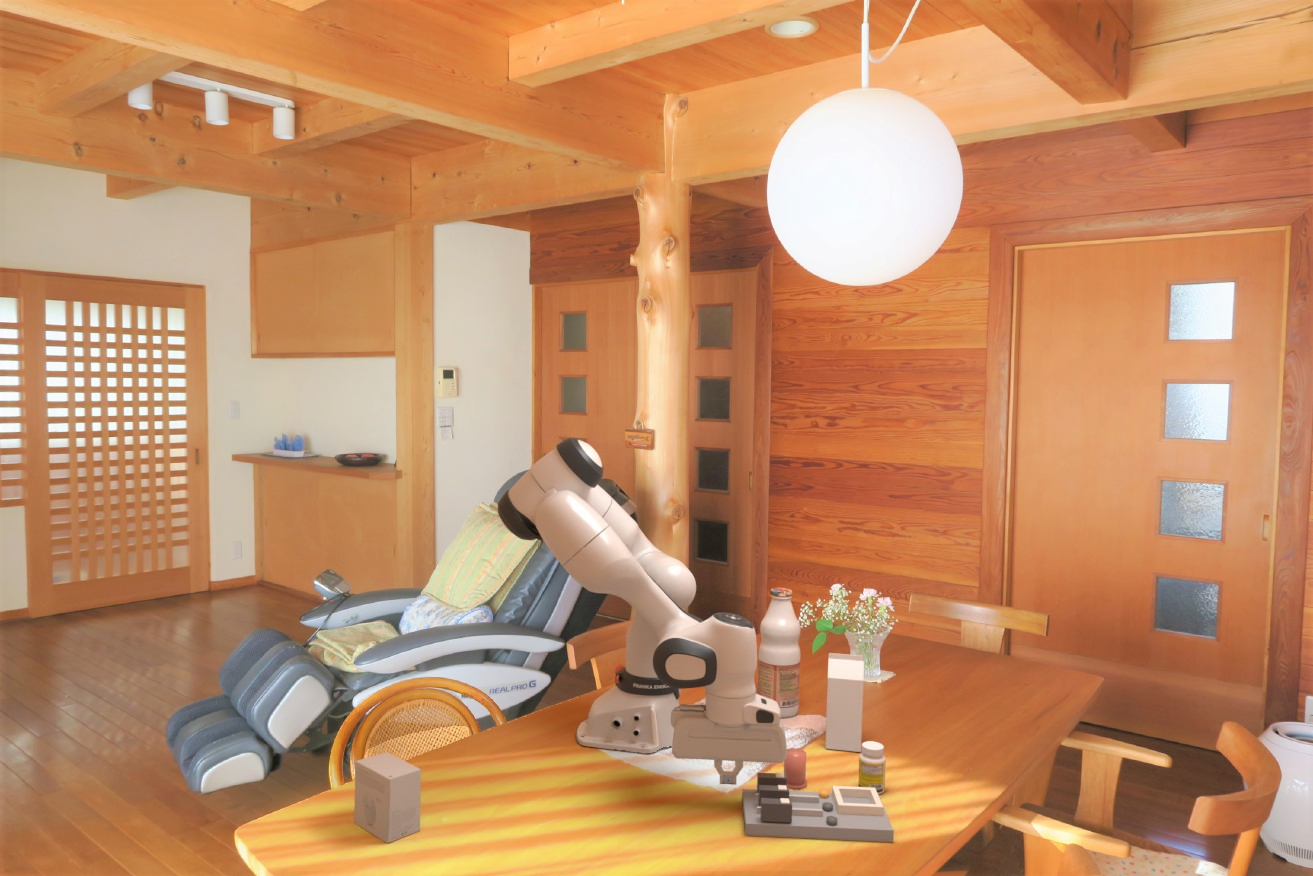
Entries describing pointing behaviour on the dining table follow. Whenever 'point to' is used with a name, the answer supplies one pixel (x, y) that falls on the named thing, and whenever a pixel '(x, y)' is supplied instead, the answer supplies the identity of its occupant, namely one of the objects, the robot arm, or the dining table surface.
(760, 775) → the block
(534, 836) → the dining table surface
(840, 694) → the milk carton
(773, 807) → the block
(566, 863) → the dining table surface
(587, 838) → the dining table surface
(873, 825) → the panel
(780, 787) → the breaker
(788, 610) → the fruit juice
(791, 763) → the cap
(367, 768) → the skincare box
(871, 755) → the supplement bottle
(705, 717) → the robot arm
